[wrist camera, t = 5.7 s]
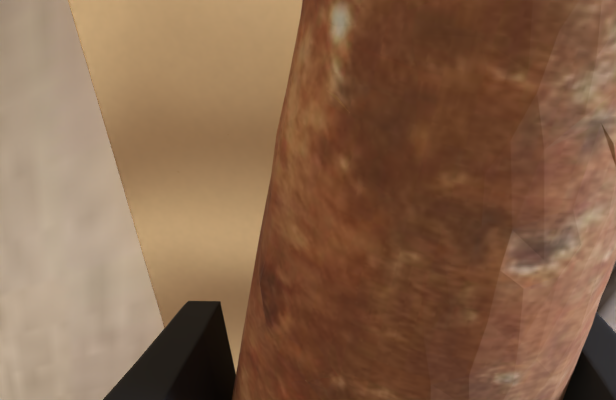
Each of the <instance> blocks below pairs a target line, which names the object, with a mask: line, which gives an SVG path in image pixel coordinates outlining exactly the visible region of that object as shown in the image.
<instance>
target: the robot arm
mask: <svg viewBox="0 0 616 400" xmlns="http://www.w3.org/2000/svg"><path fill="white" fill-rule="evenodd" d="M235 377H236V373H235V368H234V363H233V359H232V354H231V349H230V345H229V340H228V335H227V330H226V326H225V321H224V316H223V312H222V307H221V302H220V301H188V302H187V303H185V304H184V305H183V307H182V308H181V309H180V310H179V311H178V313H177V314H176V315H175V316H174V317H173V319H172V320H171V321H170V322H169V324H168V325H167V326H166V327H165V328H164V330H163V331H162V332H161V333H160V334H159V336H158V337H157V338H156V339H155V341H154V342H153V343H152V344H151V345H150V346H149V348H148V349H147V350H146V351H145V352H144V354H143V355H142V356H141V357H140V358H139V360H138V361H137V362H136V363H135V364H134V365H133V366H132V368H131V369H130V370H129V371H128V372H127V373H126V374H125V375H124V377H123V378H122V379H121V380H120V381H119V382H118V383H117V385H116V386H115V387H114V388H113V389H112V390H111V391H110V392H109V394H108V395H107V396H106V397H105V398H104V399H103V400H232V395H233V389H234V383H235ZM563 400H616V333H615V332H614V331H613V329H612V328H611V327H610V326H609V325H608V324H607V323H606V322H605V321H604V320H603V319H602V318H601V317H600V316H599V315H598V313H597V312H596V314H595V317H594V321H593V324H592V326H591V329H590V331H589V334H588V336H587V339H586V341H585V343H584V346H583V348H582V351H581V353H580V356H579V358H578V361H577V364H576V366H575V369H574V371H573V374H572V377H571V379H570V382H569V384H568V387H567V390H566V392H565V395H564V398H563Z"/></svg>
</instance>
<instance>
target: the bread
mask: <svg viewBox="0 0 616 400" xmlns="http://www.w3.org/2000/svg"><path fill="white" fill-rule="evenodd" d="M615 261H616V0H303V1H302V9H301V16H300V22H299V27H298V32H297V37H296V42H295V48H294V53H293V58H292V63H291V68H290V73H289V79H288V84H287V89H286V93H285V98H284V102H283V107H282V111H281V116H280V120H279V125H278V129H277V134H276V142H275V149H274V157H273V165H272V172H271V178H270V183H269V189H268V194H267V199H266V204H265V210H264V215H263V220H262V226H261V231H260V236H259V242H258V247H257V253H256V259H255V265H254V270H253V276H252V282H251V288H250V294H249V300H248V306H247V311H246V317H245V323H244V329H243V335H242V341H241V347H240V353H239V360H238V366H237V372H236V377H235V383H234V389H233V395H232V400H563V398H564V395H565V392H566V390H567V387H568V384H569V382H570V379H571V377H572V374H573V371H574V369H575V366H576V364H577V361H578V358H579V356H580V353H581V351H582V348H583V346H584V343H585V341H586V339H587V336H588V334H589V331H590V329H591V326H592V324H593V321H594V317H595V314H596V311H597V308H598V304H599V301H600V298H601V296H602V293H603V291H604V289H605V287H606V285H607V282H608V280H609V278H610V275H611V272H612V269H613V266H614V263H615Z"/></svg>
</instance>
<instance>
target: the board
mask: <svg viewBox="0 0 616 400" xmlns="http://www.w3.org/2000/svg"><path fill="white" fill-rule="evenodd" d="M302 1H303V0H68V2H69V5H70V9H71V12H72V15H73V19H74V22H75V26H76V29H77V32H78V36H79V39H80V43H81V46H82V49H83V53H84V56H85V60H86V63H87V66H88V70H89V73H90V76H91V80H92V83H93V87H94V90H95V93H96V97H97V100H98V104H99V107H100V110H101V114H102V117H103V121H104V124H105V127H106V131H107V134H108V137H109V141H110V144H111V148H112V151H113V154H114V158H115V161H116V165H117V168H118V171H119V175H120V178H121V181H122V185H123V188H124V192H125V195H126V198H127V202H128V205H129V209H130V212H131V215H132V219H133V222H134V226H135V229H136V232H137V236H138V239H139V242H140V246H141V249H142V253H143V256H144V259H145V263H146V266H147V270H148V273H149V276H150V280H151V283H152V287H153V290H154V293H155V297H156V300H157V303H158V307H159V310H160V314H161V317H162V320H163V324H164V327H166V326H167V325H168V324H169V322H170V321H171V320H172V319H173V317H174V316H175V315H176V314H177V313H178V311H179V310H180V309H181V308H182V307H183V305H184V304H185V303H187V302H188V301H220V302H221V307H222V312H223V316H224V321H225V326H226V330H227V335H228V340H229V345H230V349H231V354H232V359H233V363H234V368H235V373H236V372H237V366H238V360H239V353H240V347H241V341H242V335H243V329H244V323H245V317H246V311H247V306H248V300H249V294H250V288H251V282H252V276H253V270H254V265H255V259H256V253H257V247H258V242H259V236H260V231H261V226H262V220H263V215H264V210H265V204H266V199H267V194H268V189H269V183H270V178H271V172H272V165H273V157H274V149H275V142H276V134H277V129H278V125H279V120H280V116H281V111H282V107H283V102H284V98H285V93H286V89H287V84H288V79H289V73H290V68H291V63H292V58H293V53H294V48H295V42H296V37H297V32H298V27H299V22H300V16H301V9H302Z"/></svg>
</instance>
